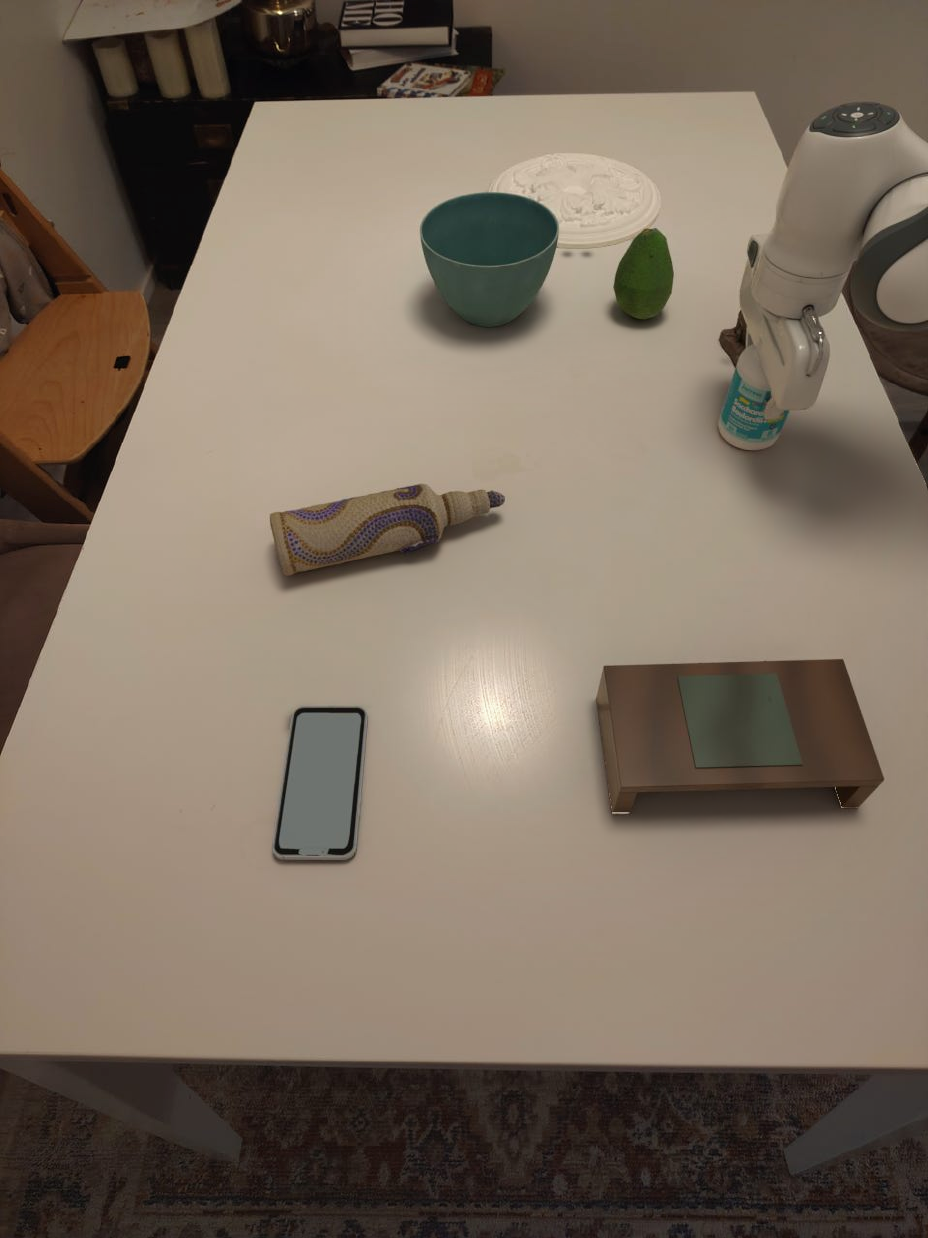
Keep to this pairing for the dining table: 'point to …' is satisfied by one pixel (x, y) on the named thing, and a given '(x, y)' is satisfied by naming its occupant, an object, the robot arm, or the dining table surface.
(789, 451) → the dining table surface
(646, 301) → the avocado
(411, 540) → the decorative bottle
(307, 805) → the smartphone
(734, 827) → the dining table surface
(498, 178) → the ceiling medallion
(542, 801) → the dining table surface
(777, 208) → the robot arm
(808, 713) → the shelf
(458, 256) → the plant pot
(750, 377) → the pill bottle
